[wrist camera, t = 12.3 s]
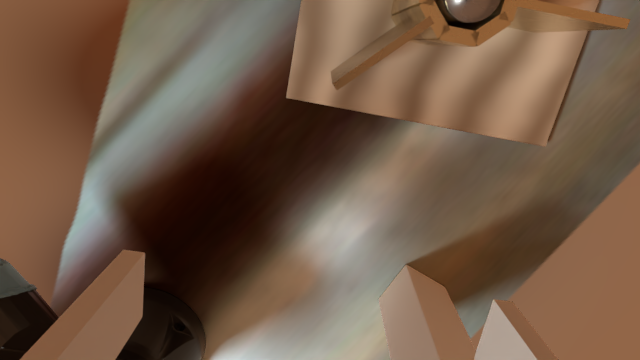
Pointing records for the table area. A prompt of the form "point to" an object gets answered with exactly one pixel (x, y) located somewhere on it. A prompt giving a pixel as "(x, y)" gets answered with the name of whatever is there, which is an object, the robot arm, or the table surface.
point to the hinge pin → (466, 9)
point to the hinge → (468, 29)
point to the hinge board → (437, 72)
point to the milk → (422, 320)
